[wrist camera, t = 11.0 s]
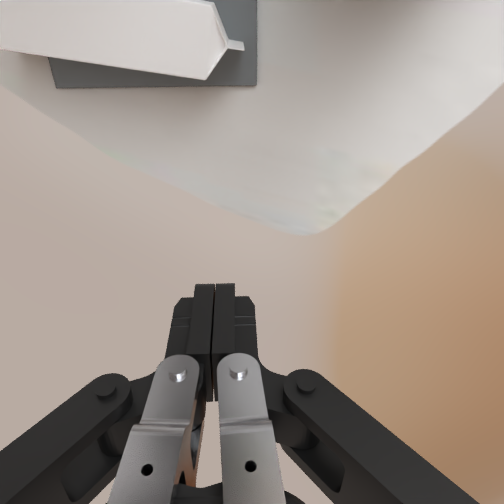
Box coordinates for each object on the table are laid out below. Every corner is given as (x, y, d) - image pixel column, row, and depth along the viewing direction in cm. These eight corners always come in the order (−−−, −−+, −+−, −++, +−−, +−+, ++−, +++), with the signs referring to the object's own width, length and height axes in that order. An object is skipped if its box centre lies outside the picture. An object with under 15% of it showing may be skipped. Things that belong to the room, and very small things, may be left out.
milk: (-32, -37, 31) (249, 9, 33) (5, -34, 36) (247, 6, 38) (-15, 49, 34) (240, 85, 37) (17, 41, 39) (239, 73, 42)
